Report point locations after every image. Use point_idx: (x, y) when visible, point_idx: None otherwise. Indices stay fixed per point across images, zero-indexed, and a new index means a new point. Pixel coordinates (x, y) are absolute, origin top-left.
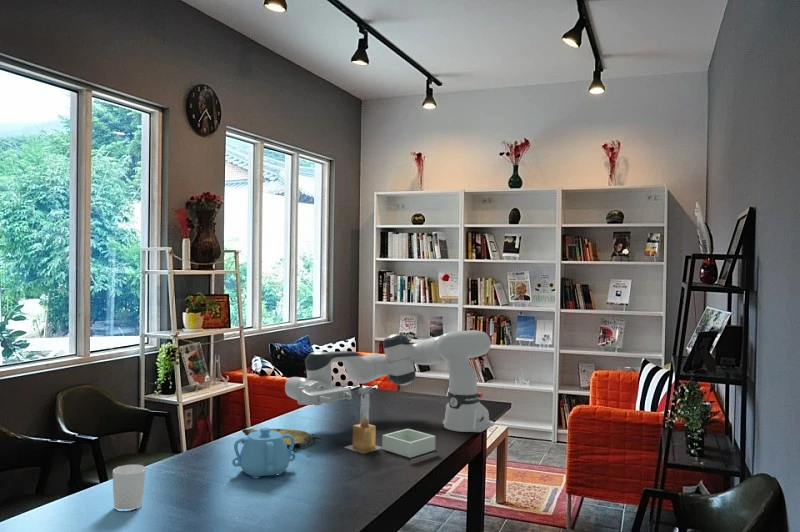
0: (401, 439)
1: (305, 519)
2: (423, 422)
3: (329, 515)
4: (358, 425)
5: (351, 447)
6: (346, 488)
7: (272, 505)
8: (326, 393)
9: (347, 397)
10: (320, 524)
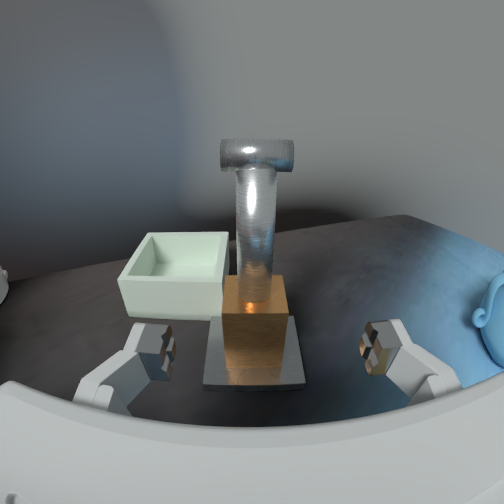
0: (219, 247)
1: (450, 235)
2: None
3: (429, 230)
4: (270, 303)
5: (285, 366)
6: (397, 252)
7: (480, 261)
8: (377, 415)
9: (170, 349)
10: (438, 226)
